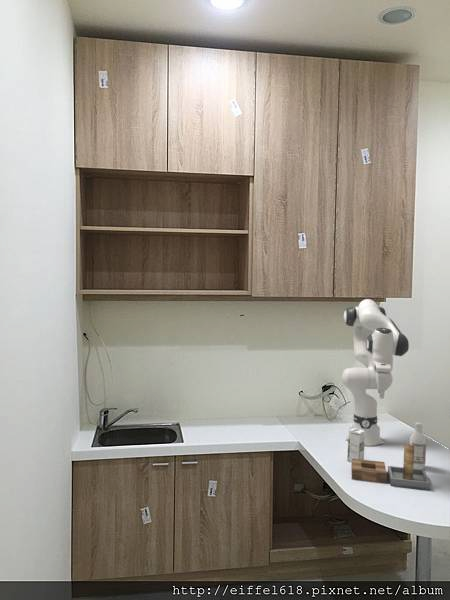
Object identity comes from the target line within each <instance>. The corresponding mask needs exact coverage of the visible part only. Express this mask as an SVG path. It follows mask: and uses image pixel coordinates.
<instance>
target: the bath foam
mask: <svg viewBox="0 0 450 600" xmlns="http://www.w3.org/2000/svg"><path fill="white" fill-rule="evenodd" d="M414 424H415V425H414V431H413V432H412V434H411V435H410V438H409V444H410V445H413V446H415V447H414V468H413V469H422V470H425V468H426V455H427V453H426V452H427V439H426V437H425V434H424V433H423V423H421V422H415V423H414Z"/></svg>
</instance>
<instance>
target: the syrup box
mask: <svg viewBox="0 0 450 600" xmlns="http://www.w3.org/2000/svg"><path fill="white" fill-rule="evenodd" d="M348 435H349V437H348V442H347V456H346V457H347V459H346V460H347V462H350V463H352V459H361V460H365V459H364V457H365V445H364V444H365V431H364V430H361V429H356V428H354V429H352V430H350V429H349V430H348Z"/></svg>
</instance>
